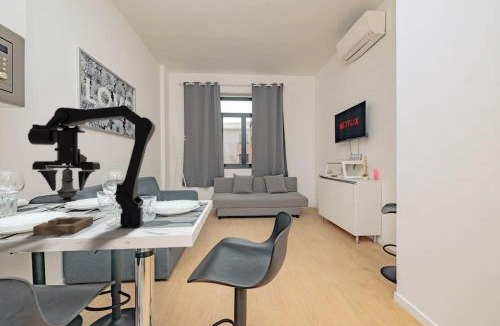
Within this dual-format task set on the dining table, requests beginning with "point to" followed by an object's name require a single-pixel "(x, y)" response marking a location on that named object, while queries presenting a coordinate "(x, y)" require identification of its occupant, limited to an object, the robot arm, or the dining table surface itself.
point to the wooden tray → (63, 225)
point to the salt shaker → (67, 187)
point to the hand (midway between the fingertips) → (67, 190)
